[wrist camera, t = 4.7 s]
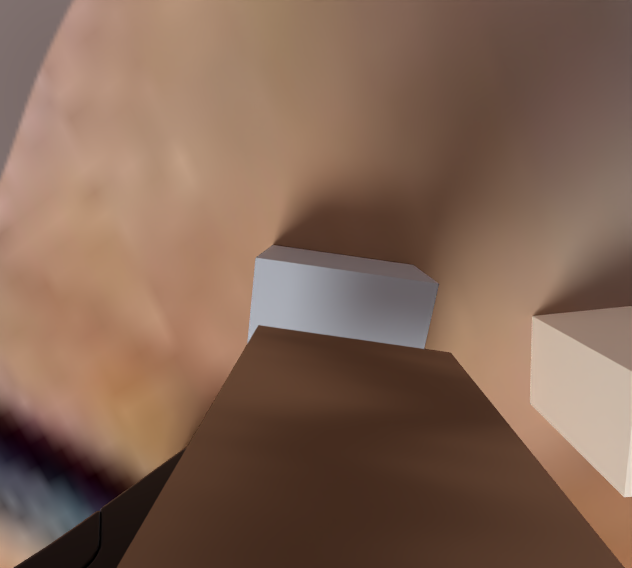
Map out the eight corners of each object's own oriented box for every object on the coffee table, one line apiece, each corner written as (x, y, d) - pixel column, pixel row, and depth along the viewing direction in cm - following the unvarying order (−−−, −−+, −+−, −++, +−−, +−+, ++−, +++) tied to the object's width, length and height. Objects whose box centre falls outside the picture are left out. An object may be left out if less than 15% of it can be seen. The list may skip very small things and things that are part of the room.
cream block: (635, 305, 17) (798, 359, 11) (626, 394, 18) (769, 487, 12) (531, 315, 17) (636, 374, 11) (529, 402, 18) (624, 497, 12)
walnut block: (450, 352, 9) (697, 658, 3) (411, 509, 10) (528, 952, 4) (258, 325, 9) (113, 571, 3) (241, 484, 10) (116, 886, 4)
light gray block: (413, 264, 17) (439, 283, 13) (386, 390, 18) (402, 441, 14) (272, 244, 17) (255, 257, 13) (259, 372, 18) (240, 418, 14)
